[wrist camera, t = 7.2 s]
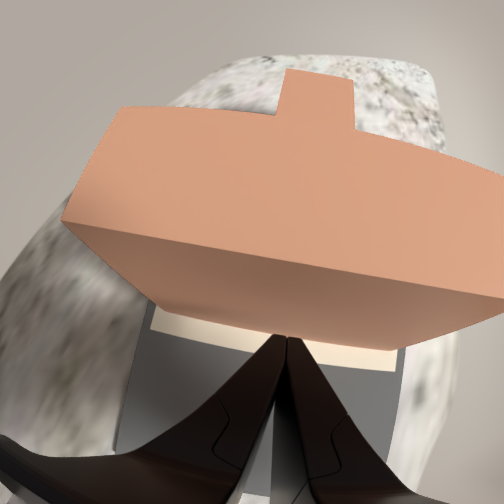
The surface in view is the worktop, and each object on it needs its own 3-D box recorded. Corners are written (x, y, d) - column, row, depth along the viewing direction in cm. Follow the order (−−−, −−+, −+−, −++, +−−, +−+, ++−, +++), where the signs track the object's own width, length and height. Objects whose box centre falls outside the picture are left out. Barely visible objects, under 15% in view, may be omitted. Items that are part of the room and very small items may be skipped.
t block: (390, 351, 15) (526, 302, 6) (165, 311, 16) (60, 220, 7) (391, 147, 20) (440, 32, 11) (227, 118, 21) (213, -7, 12)
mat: (372, 499, 12) (375, 501, 11) (117, 454, 13) (114, 455, 13) (399, 144, 21) (401, 141, 20) (215, 113, 22) (215, 109, 22)
